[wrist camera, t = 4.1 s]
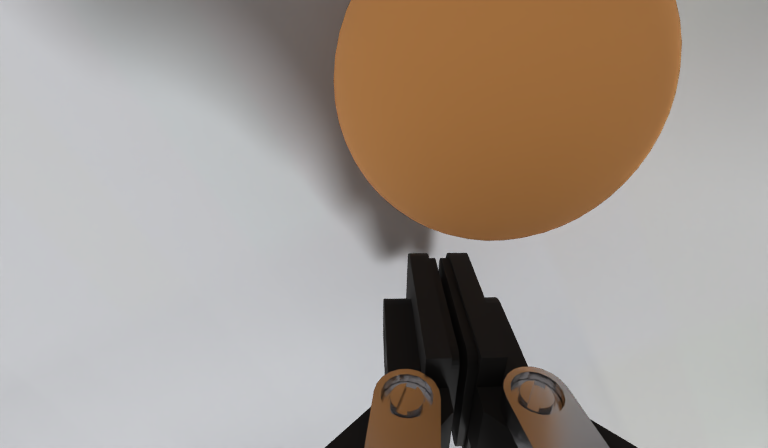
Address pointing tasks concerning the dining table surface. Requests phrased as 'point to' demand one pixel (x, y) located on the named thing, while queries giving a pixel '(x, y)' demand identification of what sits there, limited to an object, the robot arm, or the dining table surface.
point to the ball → (503, 105)
